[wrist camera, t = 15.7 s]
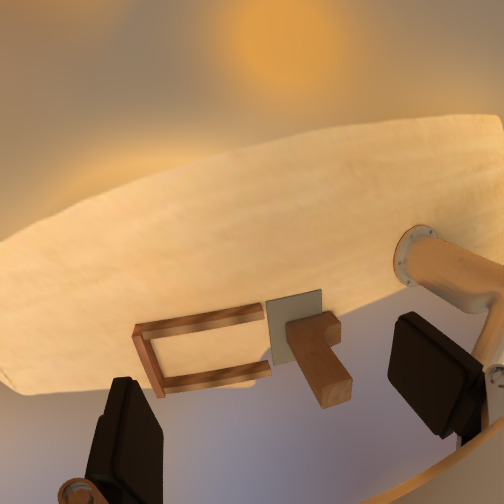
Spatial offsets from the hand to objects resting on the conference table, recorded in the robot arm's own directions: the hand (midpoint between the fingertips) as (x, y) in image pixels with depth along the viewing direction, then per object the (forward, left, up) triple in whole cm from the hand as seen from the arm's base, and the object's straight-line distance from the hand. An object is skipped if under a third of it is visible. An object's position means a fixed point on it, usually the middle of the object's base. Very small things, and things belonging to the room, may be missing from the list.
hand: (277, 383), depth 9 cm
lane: (+5, +23, -36) cm, 43 cm away
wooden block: (-13, +23, -36) cm, 45 cm away
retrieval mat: (-11, +23, -36) cm, 44 cm away
